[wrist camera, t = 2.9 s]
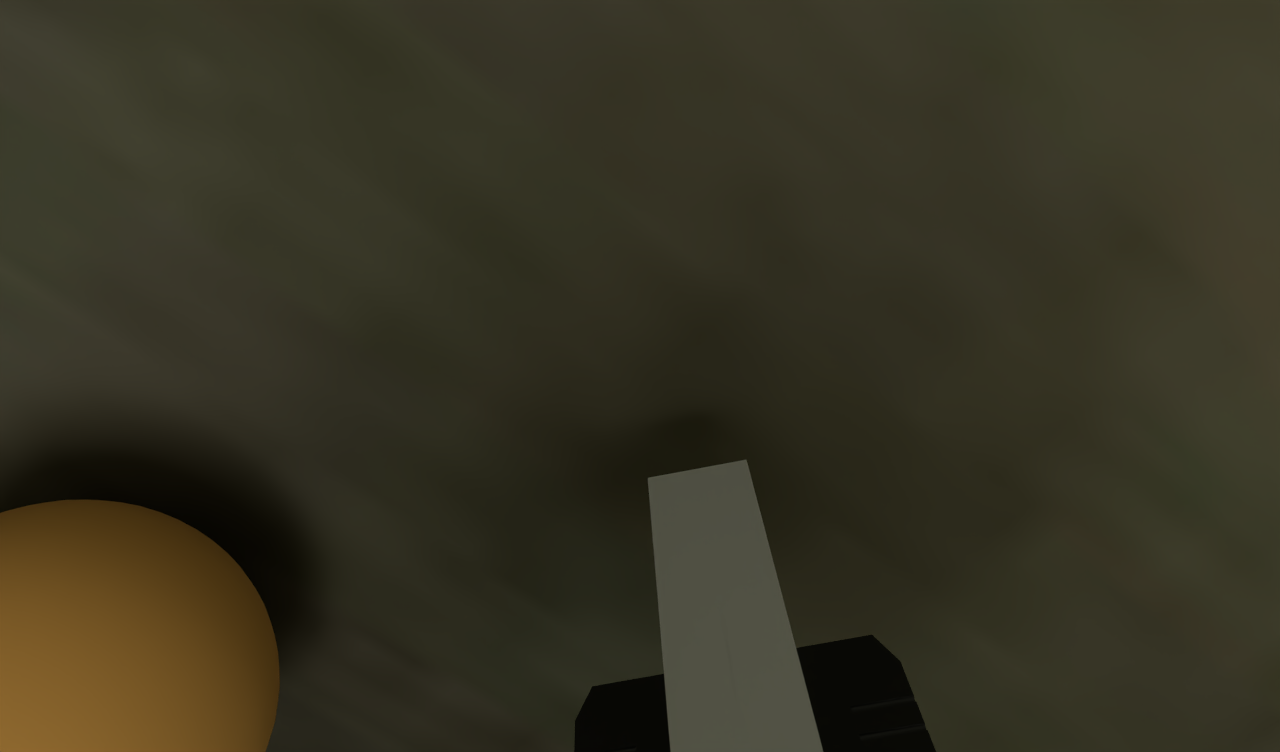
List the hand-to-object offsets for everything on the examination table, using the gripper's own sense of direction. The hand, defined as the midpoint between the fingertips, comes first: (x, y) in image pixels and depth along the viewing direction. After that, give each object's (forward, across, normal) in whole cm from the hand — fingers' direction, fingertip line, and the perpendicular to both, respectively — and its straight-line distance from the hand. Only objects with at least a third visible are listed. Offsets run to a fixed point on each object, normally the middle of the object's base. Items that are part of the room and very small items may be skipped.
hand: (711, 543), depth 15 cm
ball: (-1, +10, 0) cm, 10 cm away
